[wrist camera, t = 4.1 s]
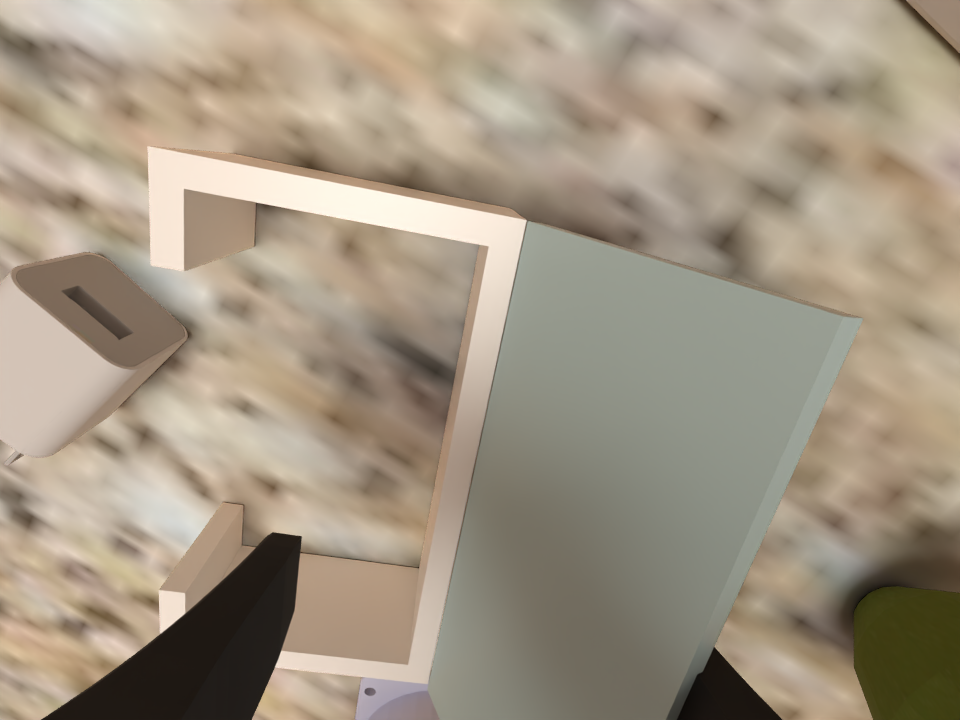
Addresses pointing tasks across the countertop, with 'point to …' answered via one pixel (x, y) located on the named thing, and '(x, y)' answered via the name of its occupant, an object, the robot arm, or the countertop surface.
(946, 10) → the toaster
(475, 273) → the c-shaped bracket
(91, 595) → the countertop surface
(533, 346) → the cover
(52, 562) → the countertop surface
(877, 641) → the olive green rounded lump
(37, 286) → the usb wall charger
